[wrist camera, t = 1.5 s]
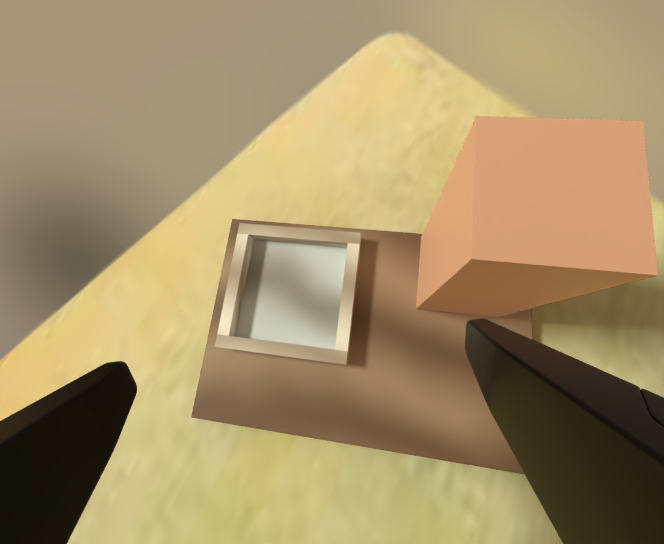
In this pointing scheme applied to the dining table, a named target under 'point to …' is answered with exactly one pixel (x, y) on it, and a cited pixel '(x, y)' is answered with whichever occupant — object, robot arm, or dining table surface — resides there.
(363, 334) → the baseboard
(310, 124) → the dining table surface
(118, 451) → the dining table surface
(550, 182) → the pillar
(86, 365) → the dining table surface
